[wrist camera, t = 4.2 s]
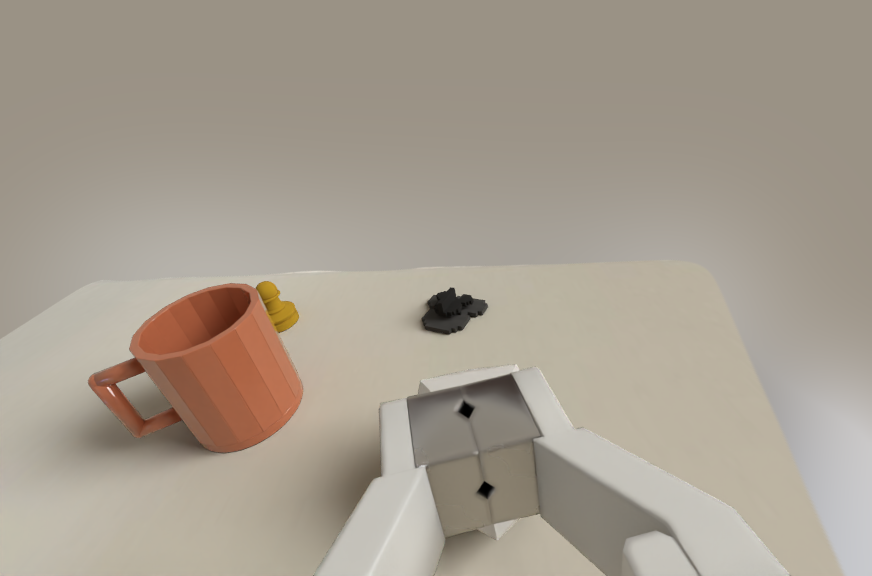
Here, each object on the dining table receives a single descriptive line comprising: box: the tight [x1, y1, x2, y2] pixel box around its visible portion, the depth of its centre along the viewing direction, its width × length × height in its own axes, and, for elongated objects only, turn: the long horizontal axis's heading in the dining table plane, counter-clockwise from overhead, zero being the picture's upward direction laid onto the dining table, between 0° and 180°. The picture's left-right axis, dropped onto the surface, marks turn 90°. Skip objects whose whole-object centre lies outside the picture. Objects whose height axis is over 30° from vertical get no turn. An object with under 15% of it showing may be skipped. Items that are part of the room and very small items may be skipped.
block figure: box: [422, 287, 488, 334], centre depth 41 cm, size 6×2×6 cm
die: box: [418, 364, 520, 540], centre depth 24 cm, size 8×9×10 cm
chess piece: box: [256, 281, 299, 333], centre depth 45 cm, size 4×4×5 cm
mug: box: [88, 283, 303, 453], centre depth 33 cm, size 12×9×10 cm
